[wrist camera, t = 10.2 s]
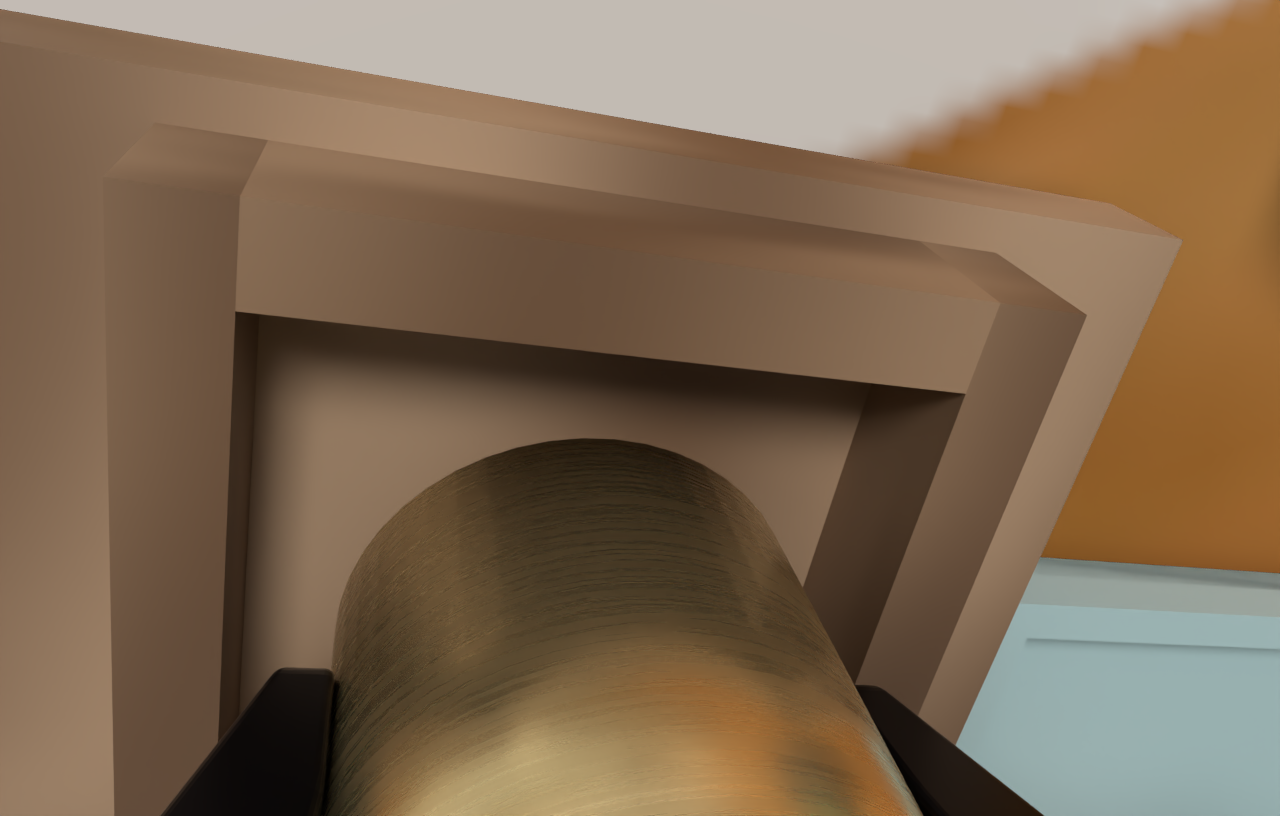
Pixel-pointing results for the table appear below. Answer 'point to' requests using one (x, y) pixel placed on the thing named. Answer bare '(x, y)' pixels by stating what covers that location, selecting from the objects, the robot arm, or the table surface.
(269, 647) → the brown compartment tray
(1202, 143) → the table surface
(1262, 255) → the table surface
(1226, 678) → the light blue square tray
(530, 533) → the cylinder
